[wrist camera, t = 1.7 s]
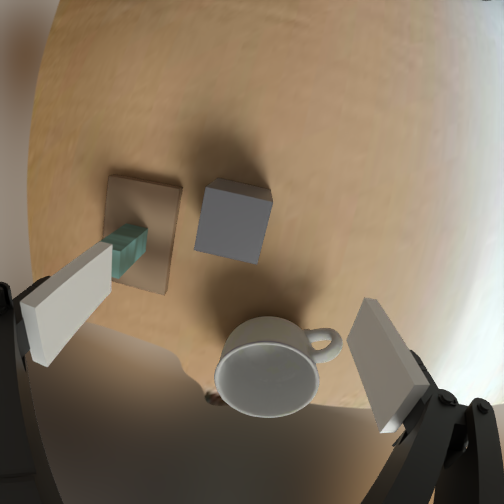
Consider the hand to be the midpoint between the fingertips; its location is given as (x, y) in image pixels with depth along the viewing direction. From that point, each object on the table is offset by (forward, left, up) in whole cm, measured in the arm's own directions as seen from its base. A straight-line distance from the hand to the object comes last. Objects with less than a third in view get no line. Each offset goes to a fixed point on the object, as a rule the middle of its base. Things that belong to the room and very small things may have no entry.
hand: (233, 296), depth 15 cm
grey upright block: (0, -1, -17) cm, 17 cm away
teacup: (+14, +7, -17) cm, 23 cm away
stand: (+5, -11, -17) cm, 21 cm away
